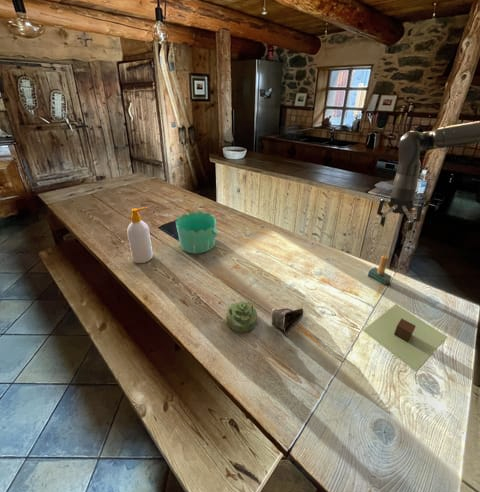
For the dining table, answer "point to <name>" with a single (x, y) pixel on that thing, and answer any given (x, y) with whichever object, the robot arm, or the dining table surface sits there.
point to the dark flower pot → (286, 318)
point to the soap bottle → (139, 238)
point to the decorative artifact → (241, 316)
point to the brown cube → (404, 330)
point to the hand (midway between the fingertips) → (395, 228)
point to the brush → (380, 272)
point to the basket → (196, 232)
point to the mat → (408, 352)
